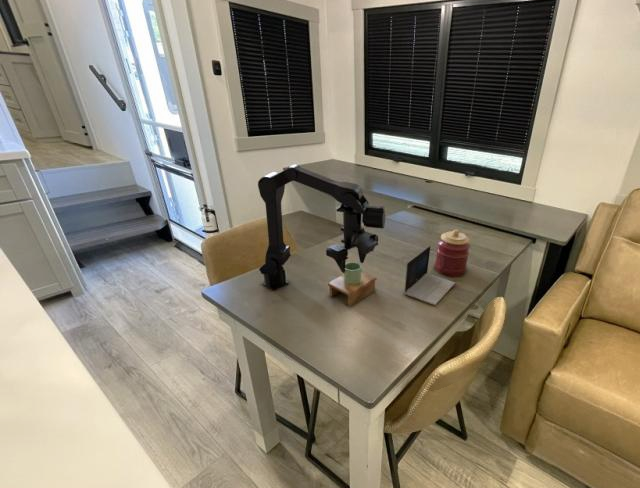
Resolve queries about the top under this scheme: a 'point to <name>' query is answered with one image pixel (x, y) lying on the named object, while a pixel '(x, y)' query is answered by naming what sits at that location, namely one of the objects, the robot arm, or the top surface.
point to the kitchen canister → (452, 253)
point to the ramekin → (353, 273)
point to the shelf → (353, 287)
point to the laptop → (424, 280)
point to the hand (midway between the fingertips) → (352, 267)
